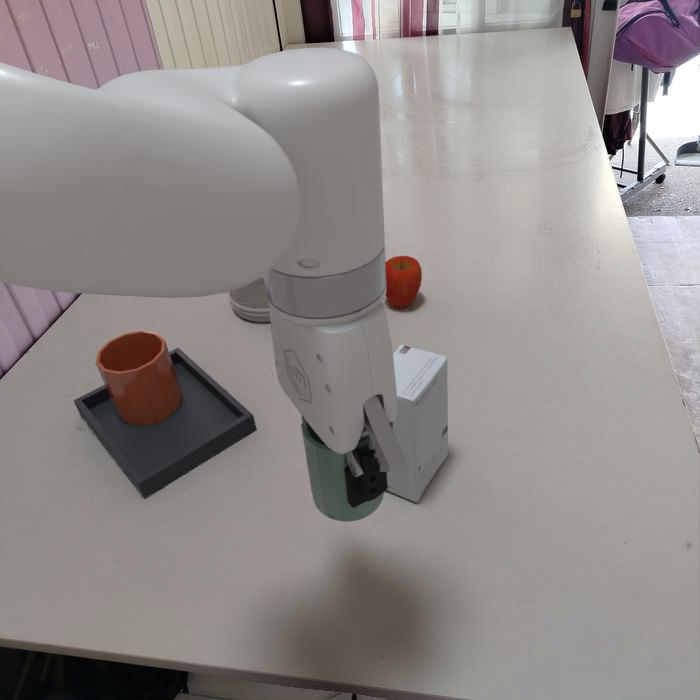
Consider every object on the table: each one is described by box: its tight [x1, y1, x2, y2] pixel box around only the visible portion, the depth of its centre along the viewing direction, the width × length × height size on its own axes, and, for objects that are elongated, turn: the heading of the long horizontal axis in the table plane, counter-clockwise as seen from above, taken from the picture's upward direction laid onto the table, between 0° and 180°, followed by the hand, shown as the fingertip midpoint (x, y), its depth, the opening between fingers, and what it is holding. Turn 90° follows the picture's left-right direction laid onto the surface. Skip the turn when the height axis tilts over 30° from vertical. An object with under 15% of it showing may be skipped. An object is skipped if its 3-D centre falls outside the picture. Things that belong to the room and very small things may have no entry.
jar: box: [228, 276, 270, 323], centre depth 98 cm, size 13×13×18 cm
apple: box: [385, 255, 423, 309], centre depth 97 cm, size 6×6×8 cm
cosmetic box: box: [386, 344, 449, 504], centre depth 68 cm, size 8×6×15 cm
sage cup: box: [300, 418, 385, 522], centre depth 49 cm, size 6×6×8 cm
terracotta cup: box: [95, 330, 182, 426], centre depth 82 cm, size 8×8×9 cm
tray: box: [73, 347, 257, 499], centre depth 82 cm, size 16×20×3 cm
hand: (345, 467), depth 50 cm, fingers closed on sage cup, 5 cm apart
